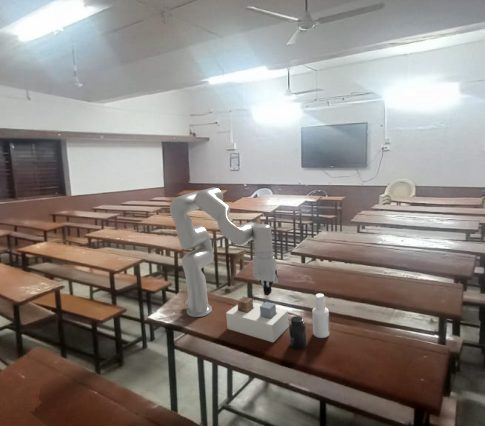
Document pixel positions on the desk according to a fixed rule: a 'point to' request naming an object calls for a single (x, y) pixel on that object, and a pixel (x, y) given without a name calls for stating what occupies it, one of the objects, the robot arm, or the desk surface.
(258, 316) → the peg board
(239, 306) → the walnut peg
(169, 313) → the desk surface
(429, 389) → the desk surface
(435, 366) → the desk surface
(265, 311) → the slate peg
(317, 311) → the spray bottle
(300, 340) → the supplement bottle
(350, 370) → the desk surface
